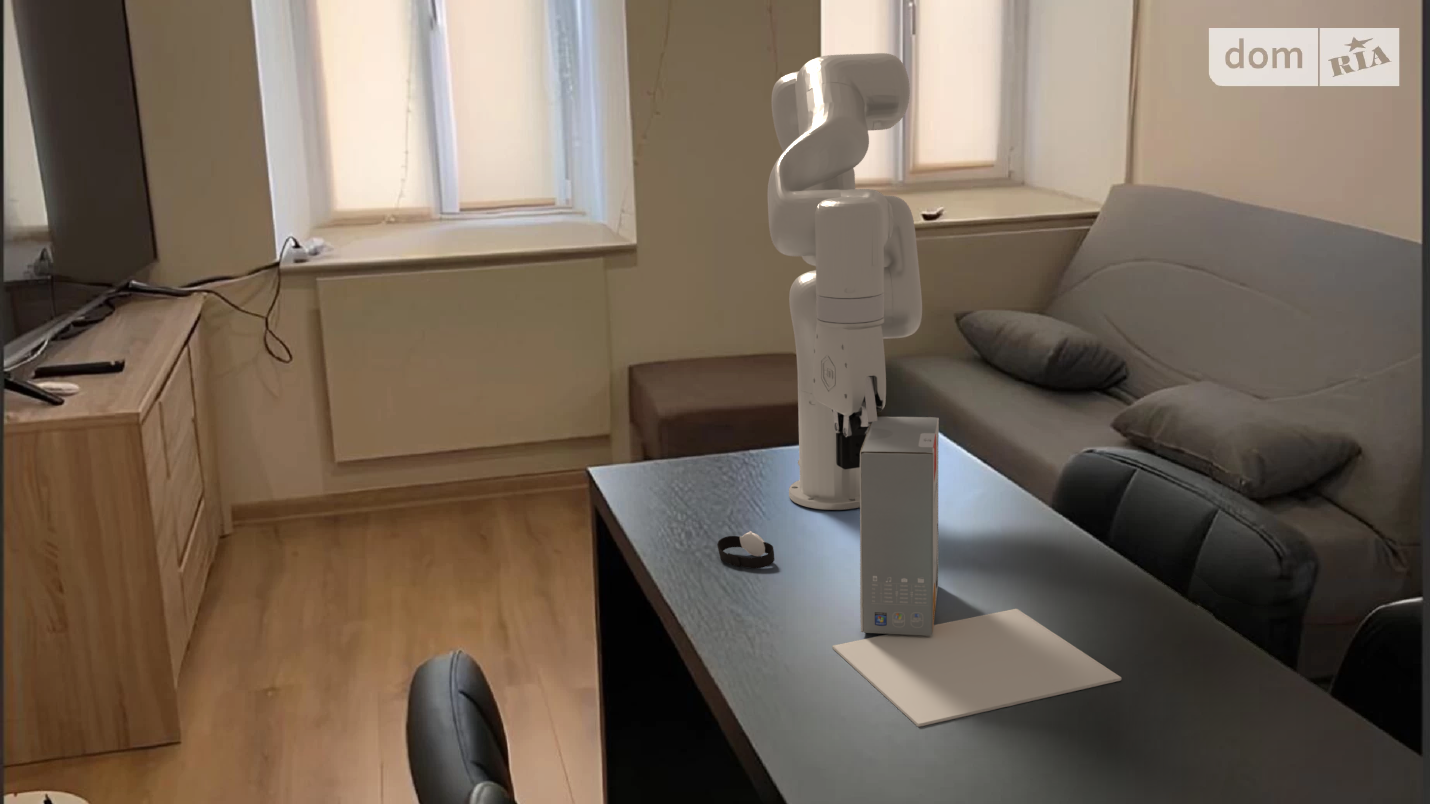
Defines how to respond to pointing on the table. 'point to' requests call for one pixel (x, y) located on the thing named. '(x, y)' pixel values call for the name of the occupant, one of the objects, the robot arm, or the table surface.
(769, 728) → the table surface
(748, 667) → the table surface
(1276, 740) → the table surface
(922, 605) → the hard drive box
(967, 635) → the mat
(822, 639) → the table surface
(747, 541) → the watch
